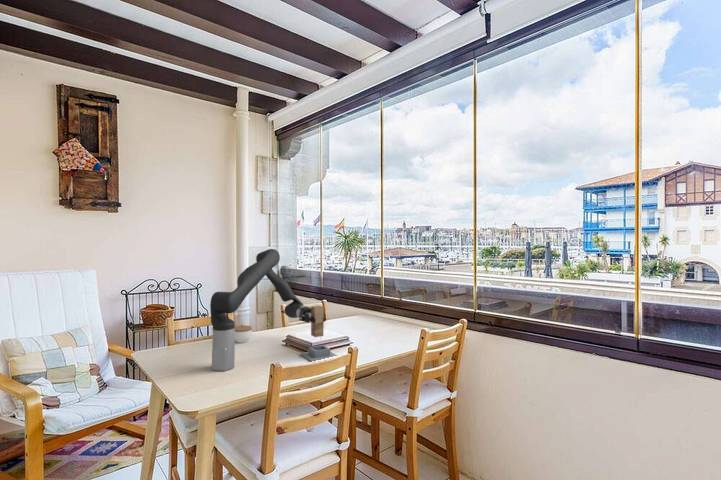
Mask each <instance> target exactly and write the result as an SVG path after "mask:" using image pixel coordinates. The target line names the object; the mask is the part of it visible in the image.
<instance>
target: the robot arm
mask: <svg viewBox="0 0 721 480" xmlns="http://www.w3.org/2000/svg"><path fill="white" fill-rule="evenodd" d="M255 259H256V261H255V263H252V264H251V265H249V266H248V267H246V268H245V269H244V270H243V271H242V272H241V273H239V275H238V277H237V280H236V281H237V282H236V283H237V287H236V288H235V289H234V290H233V291H215V292H214V293H213V294H212V295H211V298H210V304H209V305H210V309H209V310H210V322H211V325H212V326H211V327H212V341H211V342H212V349H211V371H217V372H218V371H221V372H225V371H226V372H227V371H228V370H231V369H233V368H235V345H236V344H235V343H236V341H235V326H236V324H235V320H233V319H231V318H229V317H228V316H227V314H233V313H235V312H236V311H237V310H238V309H239V308H240V306H241V305H242V303H243V301H245V299H246V298H247V296H248V295H249V294H250V293H251V291H253V289H254V288H255V287H256V286H257V285H258V284H259V283H261V281H262V280H263V278H264V277H265V276H266V277H267V279H268V280H269V281H270V283H271V284H272V285H273V286H274V288H275V289H276V291H277V293H278V295H279V297H280V299H281V301H282V302H284V303H286V302H289V301H292V302H290V303H288V304H287V305H286V306H285V307H284V314H285V316H287V317H289V318H291V319H296V318H297V319H298V321H300V322H304V323H310V324H311V322H313V323H316V318H314V317H312V316H311V307H310V306H308V305H304V303H303V302H302V301H301V300H300V299H299V298H298V297H297V296H296V295H295V294H294V292H293V290H292V288H291V286H290V285H289V283H288V282H287V281H286V280H285V279H284V278H283V277H281V276H280V275H278V274H277V273H276V272H275V271H274V269H273V268H274V267H276V266H277V265H278V264H279V263H280V259H281V257H280V253H279V251H278V250H277V249H274V248H268V249H266V250H264V251H260V252H259V253H258V254H257V255H256V258H255ZM326 320H327V317H326V313H325V312H324V323H325V322H326Z"/></svg>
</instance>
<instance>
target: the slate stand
mask: <svg viewBox="0 0 721 480" xmlns="http://www.w3.org/2000/svg"><path fill="white" fill-rule="evenodd" d="M307 349H308V350H307V351H306V352H305V351H304V352H300V353H299V354H300V356H301V357H303V358H305V359H306V360H307V361H308V362H310V363H311V362H312V361H316V360H321V359H325V358H329V357H333V356H338V355H337V354H335V353H333V352H332V351H331V348H329V347H327V346H326V345H324V344H322V345H321V344H320V345H315V346H309V347H308V348H307ZM312 363H313V362H312Z"/></svg>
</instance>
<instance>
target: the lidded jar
mask: <svg viewBox="0 0 721 480" xmlns="http://www.w3.org/2000/svg"><path fill="white" fill-rule="evenodd" d="M252 334H253V327H252V326H251V325H245V324H243V323H242V324H241V325H235V343H237V344H244V343H248V342H249V340H250V339H251V337H252Z"/></svg>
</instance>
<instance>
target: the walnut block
mask: <svg viewBox="0 0 721 480" xmlns="http://www.w3.org/2000/svg"><path fill="white" fill-rule="evenodd" d="M310 308H311V316H312V317H314V318H316V323H313V322H310V325H311V326H310V336H311V337H314V338H319V337H324V326H325V325H324V323H325V322H324V313H325V312H324V310H325V308H324V306H322V305H315V306H311V307H310Z"/></svg>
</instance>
